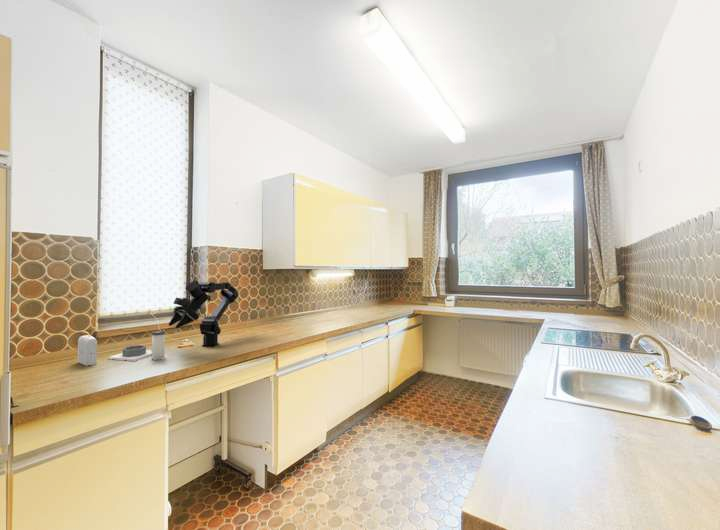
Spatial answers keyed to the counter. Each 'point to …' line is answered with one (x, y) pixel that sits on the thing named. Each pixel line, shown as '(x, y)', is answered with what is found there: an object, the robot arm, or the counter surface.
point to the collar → (132, 353)
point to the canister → (158, 344)
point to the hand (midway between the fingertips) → (172, 326)
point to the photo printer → (87, 350)
